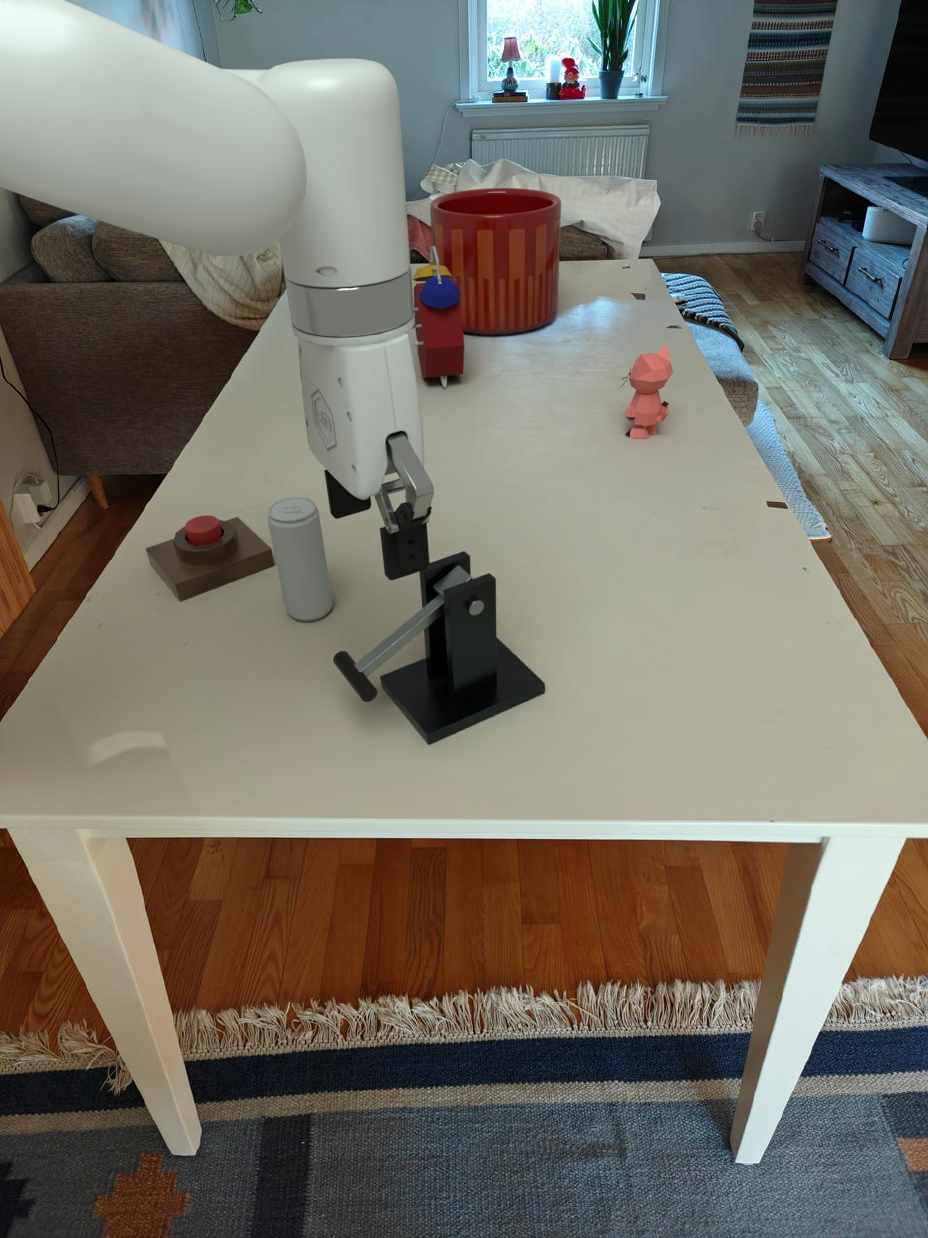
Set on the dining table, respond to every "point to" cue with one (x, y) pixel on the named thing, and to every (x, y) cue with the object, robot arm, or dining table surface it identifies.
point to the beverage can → (300, 557)
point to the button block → (209, 559)
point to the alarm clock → (438, 322)
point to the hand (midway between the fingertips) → (378, 541)
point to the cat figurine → (648, 392)
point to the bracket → (460, 660)
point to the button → (203, 530)
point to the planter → (500, 256)
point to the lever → (395, 639)
